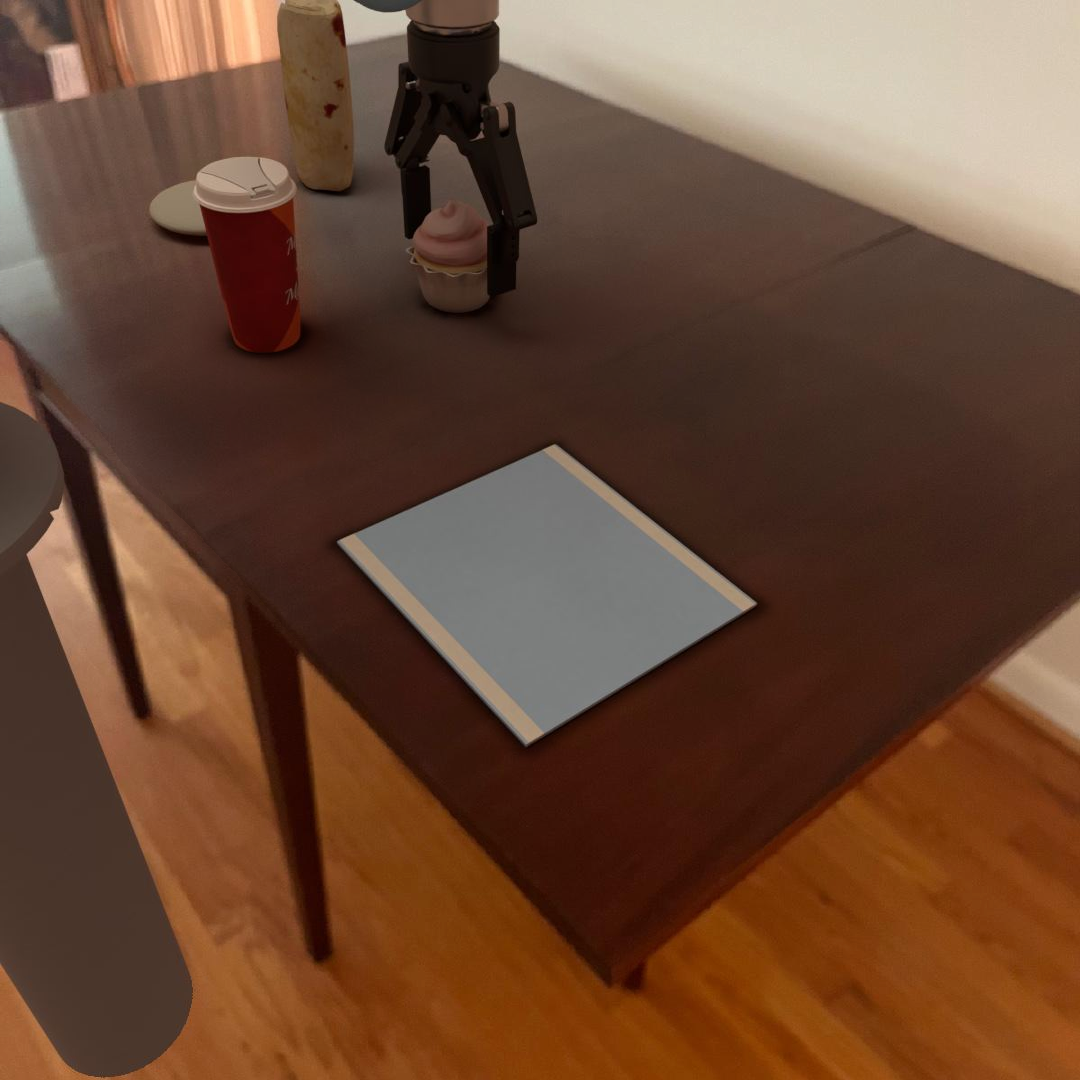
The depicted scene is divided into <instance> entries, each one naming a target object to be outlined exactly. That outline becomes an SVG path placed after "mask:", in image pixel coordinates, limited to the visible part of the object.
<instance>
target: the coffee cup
mask: <svg viewBox="0 0 1080 1080" xmlns="http://www.w3.org/2000/svg"><path fill="white" fill-rule="evenodd" d="M289 172H290V171H289V170H288V168H287V167H286V166H285V165H284V164H283V163H281V162H279V161H277V160H275V159H271V158H267V157H261V156H260V157H259V156H234V157H229V158H223V159H220V160H216V161H213V162H211V163H209V164H207V165H205V166H204V167H202V168H201V169H200V170H199V171H198V172H197V174H196V178H195V180H196V185H195V187H194V190H193V197H194V199H195V200H196V201H197V202H198V203H199V204H200V208H201V212H202V216H203V220H204V224H205V229H206V233H207V241H208V245H209V248H210V253H211V257H212V261H213V264H214V269H215V273H216V277H217V281H218V286H219V290H220V294H221V298H222V302H223V305H224V310H225V313H226V317H227V322H228V325H229V328H230V333H231V336H232V338H233V342H234V343H235V344H236V345H237V346H238V348H240V349H242V350H244V351H247V352H250V353H257V354H269V353H276V352H280V351H283V350H286V349H288V348H291V347H292V346H294V345H295V344H297V342H298V341H299V339H300V337H301V308H300V307H301V304H300V289H299V288H300V287H299V273H298V272H299V271H298V270H299V269H298V255H297V240H296V239H297V238H296V224H295V208H294V205H295V204H294V197H295V196H296V193H297V189H298V188H297V185H296V182H295V181H294V180H293V179H292V178H291V176H290V173H289Z"/></svg>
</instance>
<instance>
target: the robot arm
mask: <svg viewBox="0 0 1080 1080" xmlns="http://www.w3.org/2000/svg"><path fill="white" fill-rule="evenodd" d="M353 1H354V2H355V3H357V4H359V5H361V6H362V7H365V8H366V9H369V10H371V11H374V12H379V13H383V14H384V13H399V12H402V11H404V12H405V16H406V17H407V18H408V19H409V20H410V21H409V23H408V24H407V25H406V43H407V61H405V62H399V64H398V68H397V69H398V70H397V72H398V76H397V80H398V82H397V91H396V95H395V99H394V104H393V107H392V110H391V116H390V119H389V124H388V128H387V132H386V136H385V141H384V144H383V145H384V146H383V148H384V152H385V154H386V155H387V156H390V157H391V156H393V157H394V163H395V165H396V167H397V168H398V169H399V172H400V173H399V174H400V186H401V187H400V192H401V196H402V211H403V230H404V238H406V239H407V240H413V236H414V234H415V232H416V230H417V229H418V228H419V227H420V226H421V225H422V223H423V221H424V220H425V217H426V216H427V215H428V214H429V213H430V212H432V195H431V190H432V189H431V168H430V167H429V166H428V165H426V164H424V165H421V166H420V164H423V163H427V162H430V159H429V156H428V155H429V154H430V152H431V150H432V148H433V147H434V145H435V144H436V143H437V141H438V139H439V138H440V136H446V138H448V139H449V140H450V142H452V143H454V144H455V145H456V148H457V150H458V152H459V154H461V156H464V157H465V158H466V159H467V161H468V164H469V166H470V170H471V172H472V174H473V177H474V180H475V182H476V184H477V187H478V189H479V192H480V194H481V197H482V199H483V202H484V204H485V207H486V209H487V212H488V214H489V218H490V219H491V222H492V224H489V226H487V294H488V295H489V296H490V297H489V298H495V297H497V296H500V295H503V294H506V293H509V292H513V291H515V290H517V262H518V260H519V258H520V231H521V230H523V229H526V228H527V229H528V228H530V227H533V226H535V225H537V223H538V215H537V211H536V206H535V201H534V198H533V194H532V190H531V186H530V181H529V178H528V175H527V170H526V166H525V161H524V158H523V155H522V149H521V145H520V143H519V138H518V133H517V118H516V115H517V114H516V107H515V105H514V103H513V102H511V101H507V102H502V103H496V102H493V101H492V98H491V95H490V94H491V93H490V87H489V86H490V85H489V84H490V82H491V80H492V78H494V76H495V75H496V74H497V73H498V71H499V69H500V51H501V50H500V47H501V46H500V45H501V44H500V43H501V41H500V36H501V35H500V33H501V29H500V27H499V25H498V23H497V22H496V21H495V20H496V19H498V17H499V15H500V0H353ZM481 133H482V135H483V137H479V136H480V134H481ZM478 137H479V138H478Z"/></svg>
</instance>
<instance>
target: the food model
mask: <svg viewBox="0 0 1080 1080" xmlns="http://www.w3.org/2000/svg"><path fill="white" fill-rule="evenodd" d="M276 32H277V39H278V47H279V55H280V66H281V75H282V85H283V87H282V88H283V93H284V103H285V109H286V115H287V121H288V131H289V137H290V144H291V149H292V156H293V160H294V166H295V169H296V172H297V175H298V177H299V180H300V181H301V182H302V183H303V184H304V185H305V186H306V187H307V188H309V189H312V190H321V191H322V190H323V191H324V190H325V191H332V192H341V191H344V190H345V189H347V188H349V187H350V186H351V184H352V181H353V173H354V157H355V156H354V155H355V154H354V153H355V132H354V131H355V130H354V129H355V128H354V111H353V101H352V100H353V99H352V98H353V97H352V88H351V77H350V76H351V75H350V66H349V55H348V47H347V39H346V30H345V23H344V15H343V11H342V7H341V4H340V2H339V1H338V0H284V2H280V5H279V8H278V10H277V15H276Z"/></svg>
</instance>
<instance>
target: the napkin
mask: <svg viewBox="0 0 1080 1080" xmlns="http://www.w3.org/2000/svg"><path fill="white" fill-rule="evenodd" d="M336 543H337V546H338V547H339V548H340V549H341V550H342V551H343V552H344V553H345V554H346V555H347V557H348V558H350V560H351V561H352V562H353V563H354V564H355V565H356V566H357V567H358V569H359V570H360V571H362V573H363V574H364V575H365V576H366V577H367V578H368V580H370V581H371V582H372V583H373V584H374V586H375V587H376V588H377V589H378V590H379V592H381V593H382V594H383V596H384V597H386V598H387V600H389V602H390V603H391V604H392V605H393V606H394V607H395V608H396V609H397V610H398V612H400V613H401V614H402V616H403V617H404V618H405V619H406V620H407V621H408V622H409V623H410V624H411V625H412V626H413V627H414V629H415V630H417V632H418V633H419V634H420V635H421V636H422V637H423V638H424V640H426V642H427V643H428V644H429V645H430V646H431V647H432V648H433V649H434V650H435V651H436V652H437V653H438V654H439V656H440V657H441V658H442V659H443V660H444V661H445V662H446V663H447V664H448V665H449V666H450V667H451V668H452V669H453V671H454V672H455V673H456V674H457V675H458V676H459V677H460V678H461V679H462V680H463V682H464V683H466V685H467V686H468V687H469V688H470V689H471V690H472V691H473V692H474V694H475V695H477V697H478V698H479V699H480V700H481V701H482V702H483V704H485V705H486V706H487V707H488V708H489V709H490V710H491V712H492V713H493V715H495V716H496V717H497V718H498V719H499V720H500V721H501V722H502V724H503V725H505V727H506V728H507V729H508V730H509V732H510V733H512V735H514V737H516V739H517V740H518V741H520V744H522V745H523V747H524V748H528V747H529V746H531V745H532V744H535V743H536V742H538V741H539V740H541V739H542V738H544V737H545V736H547V735H549V734H550V733H552V732H554V731H555V730H557V729H558V728H560V727H562V726H563V725H565V724H566V723H568V722H570V721H572V720H573V719H575V718H576V717H578V716H580V715H581V714H583V713H584V712H586V711H588V710H589V709H591V708H593V707H595V706H596V705H598V704H599V703H601V702H603V701H604V700H606V699H607V698H610V697H611V696H612V695H614V694H615V693H617V692H619V691H621V690H622V689H624V688H625V687H627V686H629V685H630V684H632V683H634V682H636V681H637V680H638V679H640V678H642V677H643V676H645V675H647V674H649V673H650V672H651V671H653V670H655V669H657V668H658V667H660V666H661V665H663V664H664V663H666V662H668V661H669V660H671V659H673V658H674V657H676V656H678V655H679V654H681V653H683V652H684V651H686V650H688V649H690V648H691V647H692V646H694V645H696V644H697V643H698V642H700V641H702V640H704V639H706V638H707V637H708V636H710V635H712V634H713V633H715V632H717V631H718V630H720V629H722V628H723V627H725V626H726V625H728V624H729V623H731V622H733V621H734V620H736V619H738V618H739V617H741V616H743V615H744V614H746V613H747V612H749V611H751V610H753V609H754V608H756V607H757V606H758V603H757V601H755V600H754V599H752V598H751V597H750V596H749V595H748V594H746V593H745V592H743V591H742V590H741V589H740V588H739V587H737V586H736V585H735V584H734V583H733V582H731V581H730V580H729V579H727V577H725V576H724V575H722V573H720V572H718V571H717V570H715V568H713V567H712V566H711V565H709V564H708V563H707V562H706V561H704V559H702V558H701V557H700V556H699V555H697V554H695V552H693V551H692V550H691V549H689V547H687V546H685V545H684V544H683V543H682V542H681V541H679V540H678V539H677V538H675V537H674V536H673V535H672V534H670V532H668V531H666V530H665V529H664V528H663V527H662V526H660V525H659V524H658V523H656V522H655V521H654V520H652V519H651V518H650V517H649V516H648V515H646V514H645V513H643V511H641V510H640V509H638V508H637V507H636V506H635V505H634V504H633V503H631V502H630V501H629V500H627V499H626V498H624V497H623V496H622V495H621V494H620V493H618V491H616V490H615V489H614V488H612V487H611V486H609V485H608V484H607V483H606V482H605V481H603V480H602V479H601V478H599V477H598V476H597V475H596V474H594V473H593V472H592V471H591V470H589V469H588V468H587V467H585V466H584V465H583V464H582V463H581V462H579V461H578V460H577V459H575V458H574V457H573V456H571V455H570V454H569V453H568V452H566V451H565V450H564V449H563V448H561V447H560V446H559V445H558V444H556V443H554V444H552V445H550V446H548V447H545V448H543V449H541V450H539V451H537V452H534V453H532V454H530V455H528V456H526V457H523V458H521V459H519V460H517V461H515V462H512V463H510V464H508V465H506V466H503V467H500V468H498V469H497V470H494V471H492V472H489V473H487V474H485V475H482V476H481V477H478V478H475V479H473V480H471V481H470V482H467V483H465V484H463V485H460V486H459V487H456V488H454V489H451V490H449V491H447V492H444V493H443V494H440V495H438V496H435V497H434V498H431V499H428V500H427V501H425V502H422V503H420V504H417V505H416V506H413V507H411V508H409V509H406V510H404V511H402V512H400V513H398V514H395V515H393V516H391V517H388V518H386V519H384V520H382V521H379V522H378V523H375V524H373V525H371V526H368V527H365V528H364V529H362V530H359V531H357V532H354V533H352V534H349V535H348V536H345V537H343V538H341V539H339V540H337V541H336Z"/></svg>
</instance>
